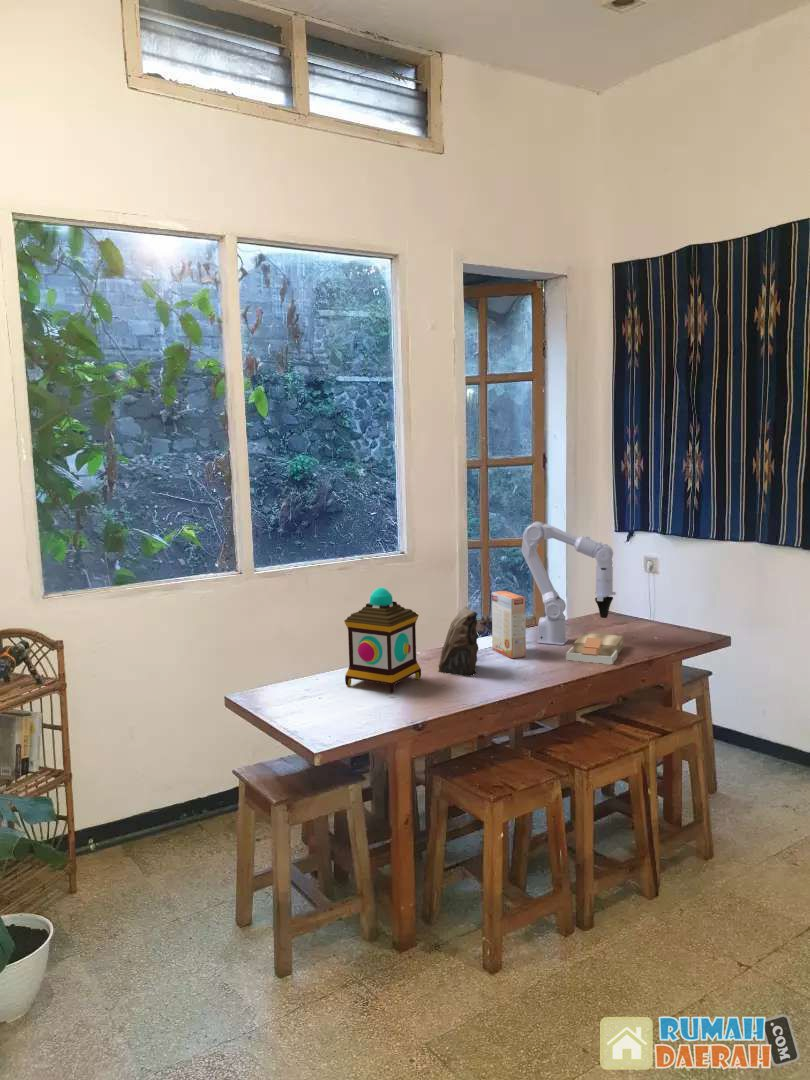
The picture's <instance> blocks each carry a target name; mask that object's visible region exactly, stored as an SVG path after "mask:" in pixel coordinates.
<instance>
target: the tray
mask: <svg viewBox="0 0 810 1080" xmlns="http://www.w3.org/2000/svg"><path fill="white" fill-rule="evenodd" d="M617 659H618V655H617V651H616V650H615V652H614V653H613V654H612V656H604V655H588V654H581V653H574V646H571V647H570V648H569V649H568V651H566V653H565V661H568V660H573V661H572V662H578V661H581V663H589V662H593V664H599V663H603V664H602V665H610V664H612V665H614V664H615V662H614V661H616V660H617ZM582 661H583V662H582Z"/></svg>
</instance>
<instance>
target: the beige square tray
mask: <svg viewBox="0 0 810 1080" xmlns="http://www.w3.org/2000/svg"><path fill="white" fill-rule="evenodd" d="M587 637H588V638H600V639H602V646H601V649H600V653H599V655H604V656H612V654H613V653H614V652H615V650H616V651H617V656H618V655H619V654H620V652H621V651H622V650H623V649H624V635H615V634H604V633H603V634H602V633H591V632H583V633H582V634H581V635H580V636H579V637H578V638H577V639H576V640H575V641H574V642H573V647H574V653H581V648H582V647H583V648H584V645H585V642H586V639H587ZM621 649H622V650H621ZM618 653H619V654H618Z"/></svg>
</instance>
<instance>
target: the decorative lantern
mask: <svg viewBox="0 0 810 1080" xmlns="http://www.w3.org/2000/svg"><path fill="white" fill-rule="evenodd" d="M419 617H420V616H419V614H418V613H417V612H416V611H413V609H410V608H405V607H403V606H402V605H400V604H398V602H397V601H394V600H393V595H392V594H391V593H390V591H389V590H387V589H386V588H384V587H378V588H376V589H375V590H374V591H373V592H371V594H370V596H369V602H368V603H365V606H363V607H362V608H361V609H359V610H358V611H356V612H352V613H351V614H350V616H347V618H346V619H344V624H345V626H346V628H347V632H348V637H347V638H348V639H347V640H348V661H349V663H348V664H349V666H348V669H347V671H346V673H345V676H344V681H345V686H346V687H350V686H351V685H352V680H358V681H362V682H363V681H364V682H370V683H376V684H377V683H378V684H383V685H386V686H387V687H388V690H389V691H388V692H389V694H394V692H395V685H396V684H397V683H400V682H401V681H403V680H405V679H407V678H409V677H411V676H412V675H415V679H416V680H420V679H421V676H422V669H421V667H420V664H419V662H418V661H417V645H416V644H417V637H416V636H417V634H416V625H417V621H418V618H419Z"/></svg>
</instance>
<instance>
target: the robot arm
mask: <svg viewBox="0 0 810 1080" xmlns="http://www.w3.org/2000/svg"><path fill="white" fill-rule="evenodd" d="M542 539H543V540H549V539H555V540H557V541H560V542H562V543H564V544H567V545H570V546H573V547H574V549H575V551H576V552H578V553H581V554H582V555H585V556H587V557H590V558H592V559H593V558H595V560H596V566H595V591H594V593H595V596H596V597H595V598H594V601H595V603H596V605H597V608H598V612H599V617H600V618H603V619H607V618H608V616H609V612H610V607H611V604H612V602H613V600H614V597H613V596H616V595H617V592H616V591H614V590H613V587H614V586H613V584H614V583H613V580H614V578H613V573H614V572H613V571H614V570H613V569H614V567H613V556H614V550H613V548H612V547H611V546H610V545H608V544H607V543H606V544H604V543H603V542H601V541H599V542H597V541H595V540H593V539H591V538H590V536H587V535H586V536H583V535H581V536H580V537H577V536H575V535H572V534H570V533H568V532H566V531H563V530H562V529H560V528H558V527H556V526H553V525H550V524H548V523H544V522H541V521H534V522H533V523H531V524H530V525H528V526H527V527H526V528H525V530H524V532H523V534H522V543H521V554H522V555H523V558H524V561H525V562H526V564H527V566H528V568H529V569H528V570H530V573H531V574H532V575H531V576H532V577H533V579H534V582H535V583H536V586H537V588H538V590H539V592H540V595H541V597H542V604H544V614H545V616H540V617H539V620H538V624H537V626H538V628H537V629H538V631H537V634H538V635H537V637H538V641H537V643H538V644H546V645H547V644H548V645H558V646H559V645H560V646H564V645H565V644H567V642H569V639H570V638H566V615H565V614H564V612H565V610H566V608H567V607H566V606H567V604H566V602H565V600H564V599H563V598H561V597H560V595H559V593H558V592H557V591H556V589H555V587H554V586H553V583H552V581H551V579H550V577H549V575H548V573H547V571H546V568H545V567H544V563H543V562H542V560H541V558H540V556H539V553H538V551H537V549H538V547H539V545H540V542H541V540H542Z"/></svg>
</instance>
